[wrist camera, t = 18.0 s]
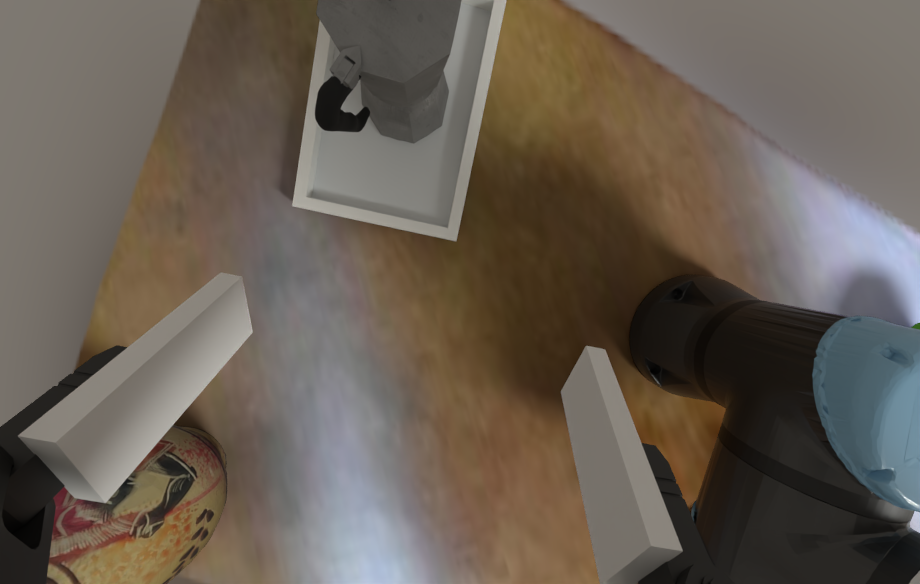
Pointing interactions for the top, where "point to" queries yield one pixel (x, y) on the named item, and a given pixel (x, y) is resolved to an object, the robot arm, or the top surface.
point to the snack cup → (916, 326)
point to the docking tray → (402, 142)
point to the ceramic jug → (143, 517)
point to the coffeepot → (388, 64)
